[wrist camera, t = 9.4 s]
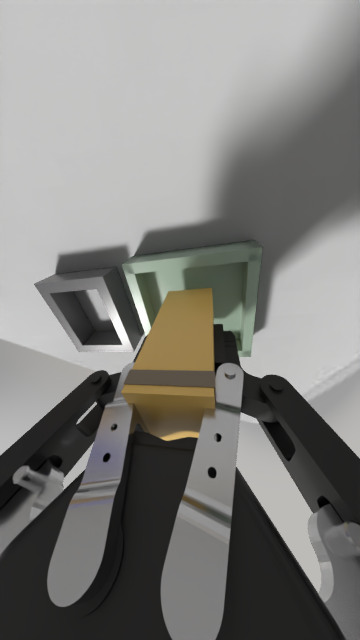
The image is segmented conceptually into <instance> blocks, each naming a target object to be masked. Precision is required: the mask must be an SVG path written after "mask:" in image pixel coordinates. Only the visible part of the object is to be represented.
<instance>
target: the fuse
mask: <svg viewBox="0 0 360 640" xmlns="http://www.w3.org/2000/svg"><path fill="white" fill-rule="evenodd" d="M213 324H214V313H213V295H212V288H203V289H191V290H179V291H168V293H167V296H166V298H165V300H164V302H163V304H162V306H161V308H160V310H159V313H158V315H157V317H156V319H155V321H154V323H153V325H152V328H151V330H150V332H149V334H148V336H147V338H146V340H145V342H144V345H143V347H142V349H141V351H140V353H139V355H138V357H137V359H136V362H135V364H134V366H133V368H132V370H130V371H129V373H128V375H127V377H126V379H125V381H124V383H123V384H124V387H123V389H122V391H121V393H122V395H123V397H124V398H125V400H126V402H127V403H134V404H135V406H136V408H137V410H138V412H139V414H140V415H141V417H142V419H143V421H144V423H145V425H146V426H147V428H148V430H149V432H150V434H152V435H154V436H156V437H159V438H161V439H163V440H165V441H170V440H175V439H180V438H185V437H196V438H198V437H199V433H200V429H201V425H202V421H203V417H204V413H205V409H206V408H212V409H215V404H216V381H215V365H214V326H213Z"/></svg>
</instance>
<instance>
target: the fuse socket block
mask: <svg viewBox="0 0 360 640" xmlns="http://www.w3.org/2000/svg"><path fill="white" fill-rule="evenodd" d="M34 285H35V286H36V288H37V289H38V291H39V292H40V294H41V295H42V297H43V298H44V300H45V301H46V303H47V304H48V306H49V307H50V309H51V310H52V312H53V313H54V315H55V316H56V318H57V319H58V321H59V322H60V324H61V325H62V327H63V328H64V330H65V331H66V333H67V334H68V336H69V337H70V339H71V340H72V342H73V343H74V345H75V346H76V348H77V349H78V351H79V352H134V351H135V349H136V347H137V345H138V343H139V341H140V339H141V337H142V336H141V334H140V331H139V328H138V325H137V323H136V320H135V317H134V314H133V312H132V309H131V306H130V303H129V300H128V298H127V295H126V292H125V289H124V287H123V284H122V281H121V278H120V276H119V273H118V270H117V267H112V268H103V269H95V270H87V271H78V272H70V273H62V274H54V275H52V276H50V277H48V278H46V279H44V280H42V281H39V282H37V283H35V284H34ZM90 289H97V290H98V292H99V295H100V297H101V299H102V301H103V303H104V305H105V308H106V310H107V312H108V314H109V316H110V319H111V321H112V323H113V325H114V327H115V330H116V331H101V332H95V331H94V329H93V327H92V326H91V324H90V322H89V320H88V318H87V317H86V315H85V313H84V311H83V309H82V307H81V306H80V304H79V302H78V300H77V298H76V296H75V295H74V293H73V291H80V290H90Z"/></svg>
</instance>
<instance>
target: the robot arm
mask: <svg viewBox="0 0 360 640" xmlns="http://www.w3.org/2000/svg"><path fill="white" fill-rule="evenodd" d="M213 326H214V365H215V381H216V404H215V409H212V408H206V409H205V413H204V417H203V421H202V425H201V429H200V433H199V437H198V438H196V437H185V438H180V439H175V440H170V441H165V440H163V439H161V438H159V437H156V436H154V435H152V434H150V432H149V430H148V428H147V426H146V425H145V423H144V421H143V419H142V417H141V415H140V414H139V412H138V410H137V408H136V406H135V404H134V403H127V402H126V400H125V398H124V397H123V395H122V393H121V391H122V389H123V387H124V384H123V383H124V381H125V379H126V377H127V375H128V373H129V371H130V370H132V368H133V366H134V364H135V362H136V359H137V357H138V355H139V353H140V351H141V349H142V347H143V345H144V342H145V340H146V338H147V336H148V335H147V336H146V337H145V338H144V341H143V343H142V345H141V348H140V349H139V351H138V353H137V355H136V357H135V359H134V361H133V363H130V364H128V365H127V366H125V367H124V368H123V370H122V372H120V373H116V374H112V375H109V374H108V373H107V372H106V371H104V370H101V371H97V372H95V373H93V374H91V375H90V376H89V377H88V378H87V379H86V380H85V381H83V382H82V383H81V384H80V385H79V386H78V387H77V388H76V389H75V390H73V391H72V392H71V393H70V394H69V395H68V396H67V397H65V399H63V400H62V401H61V402H60V403H59V404H58V405H57V406H55V407H54V408H53V409H52V410H51V411H50V412H49V413H48V414H46V415H45V416H44V417H43V418H42V419H41V420H40V421H39V422H38V423H36V424H35V425H34V426H33V427H32V428H31V429H30V430H29V431H27V432H26V433H25V434H24V435H23V436H22V437H21V438H20V439H19V440H17V441H16V442H15V443H14V444H13V445H12V446H11V447H10V448H8V449H7V450H6V451H5V452H4V453H3V454H2V455H1V456H0V640H360V459H359V457H358V456H357V455H356V454H355V453H354V452H353V451H352V450H351V449H350V448H349V447H348V446H347V444H346V443H345V442H344V441H343V440H342V439H341V438H340V437H339V436H338V435H337V434H336V433H335V432H334V430H333V429H332V428H331V427H330V426H329V425H328V424H327V423H326V422H325V421H324V420H323V419H322V417H321V416H320V415H319V414H318V413H317V412H316V411H315V410H314V409H313V408H312V407H311V406H310V404H308V402H307V401H306V400H305V399H304V398H303V397H302V396H301V395H300V394H299V393H298V392H297V390H296V389H295V388H294V387H293V386H292V385H291V384H290V383H289V382H288V381H287V380H286V379H284V378H282V377H280V376H277V375H266V376H264V377H263V378H258V377H255V376H252V375H249V374H248V373H246V372H245V371H244V370H243V369H242V368H241V366H240V361H239V355H238V350H237V344H236V339H235V335H234V334H233V333H232V332H231V331H223V324H213ZM95 401H96V402H97V405H96V406H95V407H94V408H93V409H92V410H91V411H90V412H89V413H88V414H87V415H86V416H85V418H84V419H83V420H82V421H81V422H80V423H79V424H77V425H76V423H77V421H78V419H79V418H80V417H81V416H82V415H83V414H84V413H85V412H86V411H87V410H88V409H89V408H90V407H91V406H92V405H93V404H94V402H95ZM241 412H242V413H244V414H247V415H249V416H252V417H254V418H256V419H257V420H258V422H259V424H260V425H261V427H262V429H263V430H264V432H265V434H266V435H267V437H268V439H269V440H270V442H271V444H272V445H273V447H274V449H275V450H276V452H277V454H278V455H279V457H280V459H281V460H282V462H283V464H284V465H285V467H286V469H287V470H288V472H289V473H290V475H291V477H292V479H293V480H294V482H295V484H296V486H297V487H298V489H299V491H300V492H301V494H302V496H303V497H304V499H305V501H306V502H307V504H308V506H309V507H310V509H311V511H312V512H313V514H312V515H311V516H310V518H309V522H308V533H309V538H310V541H311V544H312V546H313V548H314V551H315V553H316V555H317V558H318V561H319V564H320V569H321V576H322V577H321V588H320V591H319V593H317V591H316V589H315V588H314V586H313V585H312V583H311V582H310V580H309V579H308V577H307V576H306V574H305V572H304V571H303V569H302V568H301V566H300V565H299V563H298V562H297V560H296V558H295V557H294V555H293V554H292V552H291V551H290V549H289V548H288V546H287V545H286V543H285V541H284V540H283V538H282V537H281V535H280V534H279V532H278V531H277V529H276V527H275V526H274V524H273V523H272V521H271V520H270V518H269V517H268V515H267V514H266V512H265V510H264V509H263V507H262V506H261V504H260V503H259V501H258V499H257V498H256V496H255V495H254V493H253V492H252V490H251V489H250V487H249V485H248V484H247V482H246V481H245V479H244V478H243V476H242V475H241V473H240V471H239V470H238V468H237V467H236V459H237V447H238V434H239V424H240V413H241ZM93 442H94V444H93V447H92V450H91V454H90V457H89V460H88V463H87V466H86V469H85V470H84V471H83V472H82V473H81V474H80V475H79V476H78V477H77V478H76V479H75V480H74V481H73V482H72V483H71V484H70V485H69V486H68V487H67V488H66V489H64V490H63V488H64V486H63V484H62V483H63V479H64V477H65V476H66V475H67V474H68V473H69V471H70V470H71V469H72V468H73V467H74V465H75V464H76V463H77V461H78V460H79V459H80V458H81V457H82V455H83V454H84V453H85V452H86V451H87V449H88V448H89V447H90V446H91V444H92V443H93Z"/></svg>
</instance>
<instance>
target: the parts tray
mask: <svg viewBox="0 0 360 640" xmlns="http://www.w3.org/2000/svg"><path fill="white" fill-rule="evenodd" d="M262 248H263V247H262V246H260V245H259V244H258V243H257V242H256V241H255V240H252V241H244V242H236V243H229V244H221V245H214V246H206V247H199V248H191V249H183V250H176V251H168V252H161V253H153V254H146V255H138V256H133V257H132V258H130V259H129V260H127V261H126V262H125V263H123V264H122V267H123V270H124V273H125V276H126V279H127V282H128V285H129V288H130V291H131V294H132V297H133V300H134V302H135V305H136V308H137V311H138V314H139V317H140V320H141V323H142V326H143V329H144V332H145V335H146V336H147V335H148V334H149V332H150V330H151V328H152V325H153V323H154V321H155V319H156V317H157V315H158V313H159V310H160V308H161V306H162V304H163V302H164V300H165V298H166V296H167V293H168V291H179V290H191V289H203V288H212V295H213V313H214V324H223V331H231V332H232V333H233V334H234V335H235V339H236V344H237V350H238V355H239V357H251V349H252V340H253V331H254V322H255V312H256V303H257V294H258V285H259V276H260V266H261V257H262Z"/></svg>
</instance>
